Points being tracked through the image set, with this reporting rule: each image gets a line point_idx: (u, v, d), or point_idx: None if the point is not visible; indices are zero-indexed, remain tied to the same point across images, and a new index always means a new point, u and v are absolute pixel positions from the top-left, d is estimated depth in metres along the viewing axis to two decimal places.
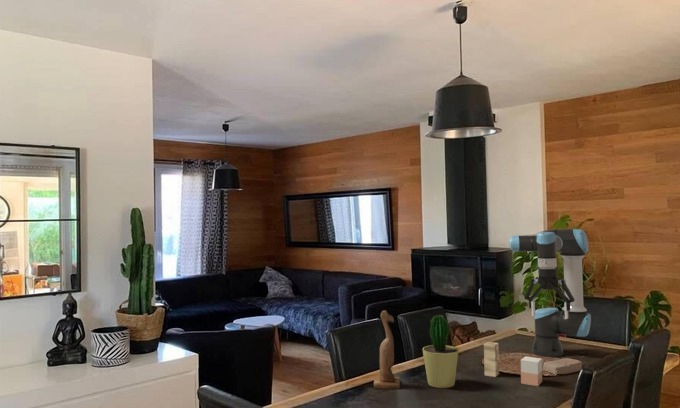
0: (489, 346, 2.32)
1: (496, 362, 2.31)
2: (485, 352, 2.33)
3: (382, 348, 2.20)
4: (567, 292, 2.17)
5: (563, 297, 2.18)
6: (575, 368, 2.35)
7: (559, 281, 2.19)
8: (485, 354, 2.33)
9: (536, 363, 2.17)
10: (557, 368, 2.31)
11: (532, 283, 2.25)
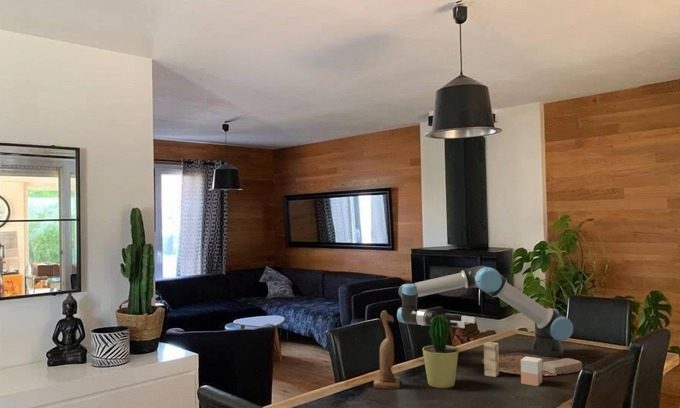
0: (489, 346, 2.32)
1: (496, 362, 2.31)
2: (485, 352, 2.33)
3: (382, 348, 2.20)
4: None
5: None
6: (575, 368, 2.35)
7: None
8: (485, 354, 2.33)
9: (536, 363, 2.17)
10: (556, 368, 2.31)
11: None
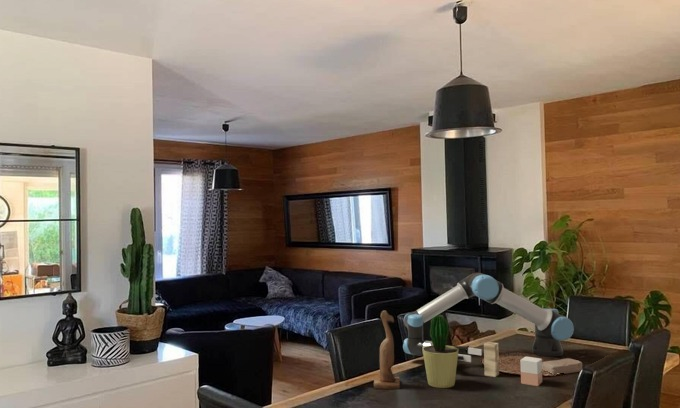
0: (489, 346, 2.32)
1: (496, 362, 2.31)
2: (485, 352, 2.33)
3: (382, 348, 2.20)
4: None
5: None
6: (575, 368, 2.35)
7: None
8: (485, 354, 2.33)
9: (535, 363, 2.17)
10: (554, 367, 2.32)
11: None
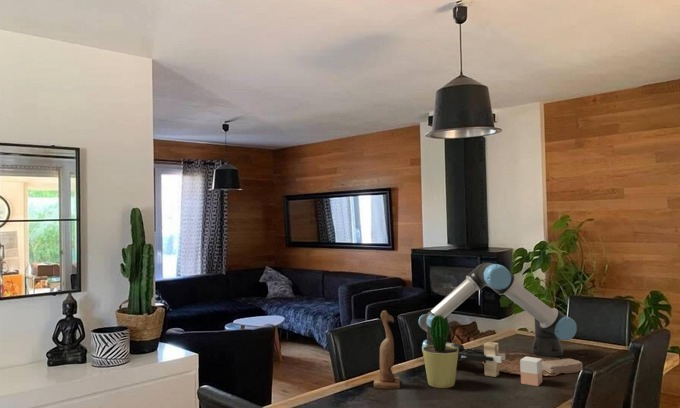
0: (489, 346, 2.32)
1: None
2: (485, 352, 2.33)
3: (382, 348, 2.20)
4: None
5: None
6: (574, 369, 2.35)
7: None
8: (485, 354, 2.33)
9: (535, 363, 2.17)
10: (552, 367, 2.32)
11: None
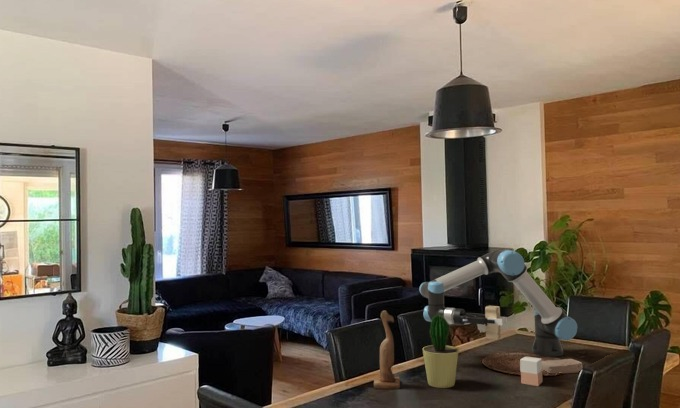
0: (490, 309, 2.31)
1: (497, 325, 2.31)
2: (486, 315, 2.32)
3: (382, 348, 2.20)
4: None
5: (481, 323, 2.33)
6: (574, 369, 2.34)
7: None
8: (486, 317, 2.32)
9: (535, 363, 2.17)
10: (551, 367, 2.33)
11: None
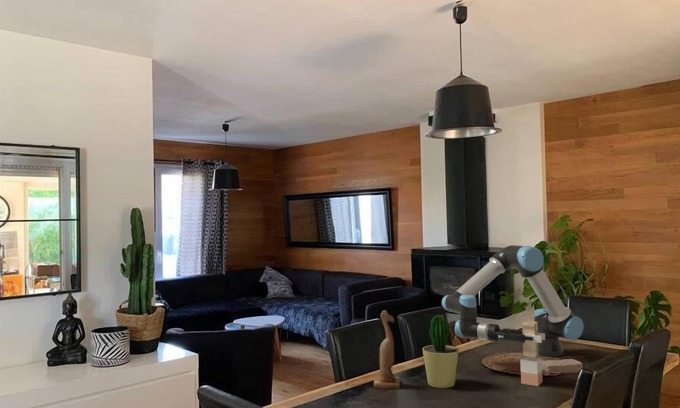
0: (528, 325, 2.20)
1: (535, 342, 2.20)
2: (524, 331, 2.21)
3: (382, 348, 2.20)
4: None
5: None
6: (573, 369, 2.34)
7: None
8: (523, 334, 2.21)
9: (535, 363, 2.17)
10: (549, 366, 2.33)
11: None
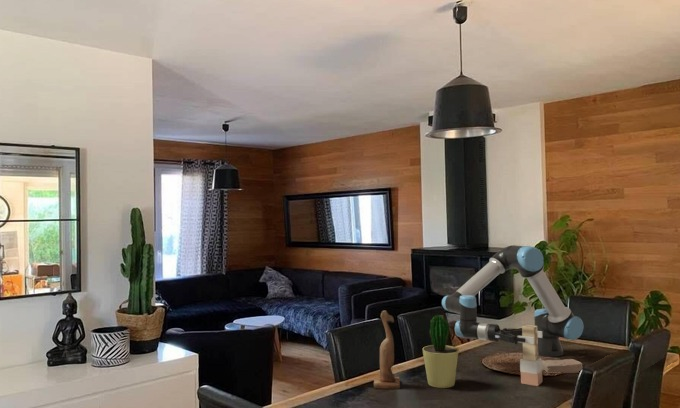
0: (528, 329, 2.20)
1: (535, 346, 2.20)
2: (523, 335, 2.21)
3: (382, 348, 2.20)
4: (506, 340, 2.20)
5: None
6: (573, 369, 2.34)
7: None
8: None
9: (535, 363, 2.17)
10: (549, 366, 2.34)
11: None
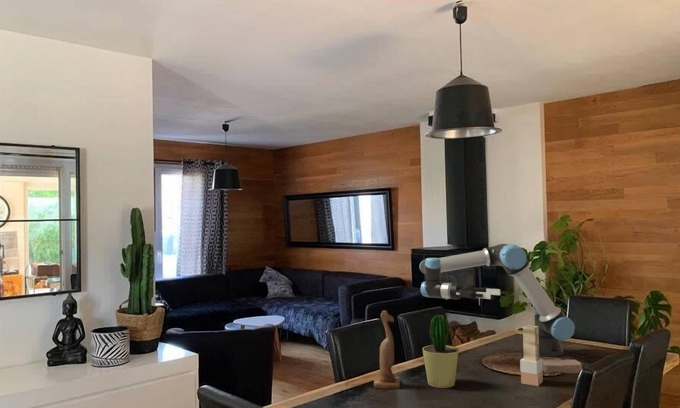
0: (529, 329, 2.20)
1: (536, 346, 2.20)
2: (524, 335, 2.21)
3: (382, 348, 2.20)
4: None
5: None
6: (572, 369, 2.34)
7: None
8: (524, 338, 2.21)
9: (535, 363, 2.17)
10: (547, 366, 2.35)
11: None
